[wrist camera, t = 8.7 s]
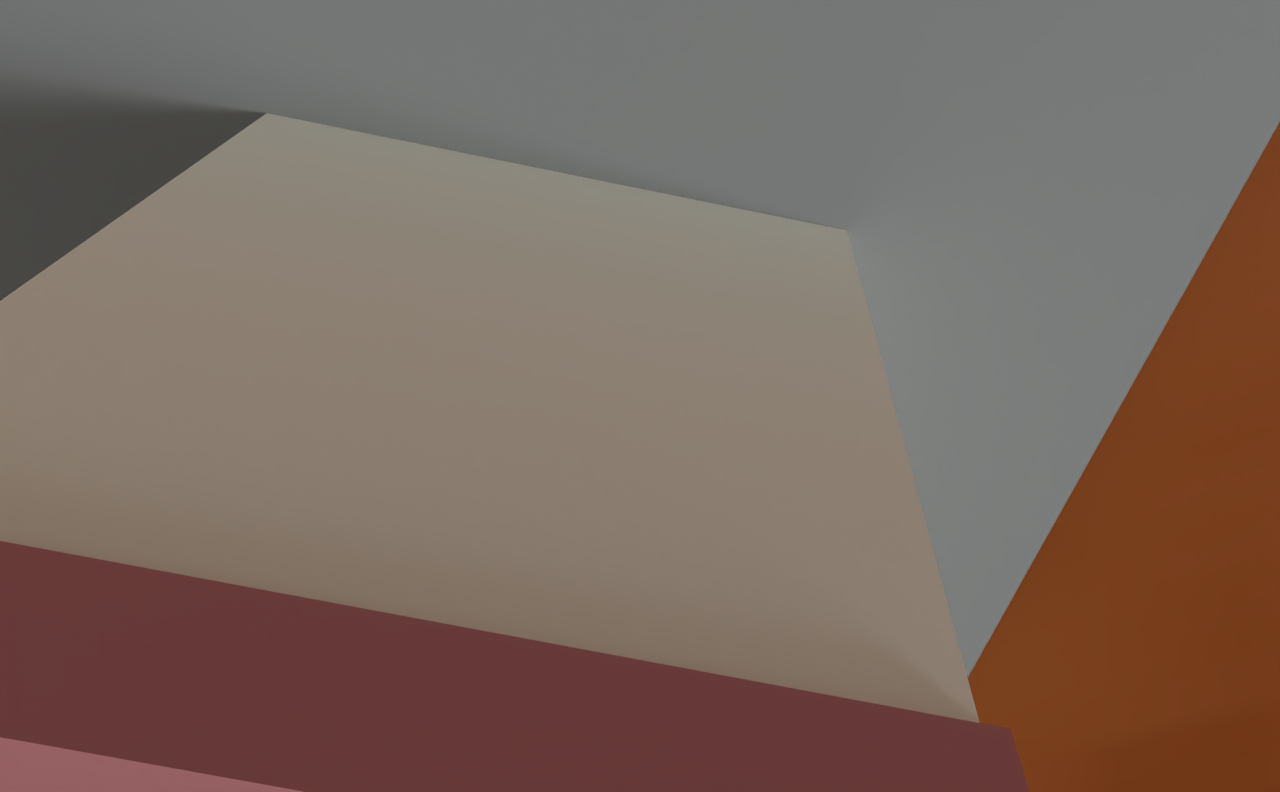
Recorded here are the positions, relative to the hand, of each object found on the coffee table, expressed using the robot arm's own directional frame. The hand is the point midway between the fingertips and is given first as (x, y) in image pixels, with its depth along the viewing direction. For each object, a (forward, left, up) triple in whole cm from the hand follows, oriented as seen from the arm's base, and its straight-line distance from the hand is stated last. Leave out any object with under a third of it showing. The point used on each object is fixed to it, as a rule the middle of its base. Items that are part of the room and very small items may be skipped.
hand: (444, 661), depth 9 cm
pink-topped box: (0, 0, -4) cm, 4 cm away
